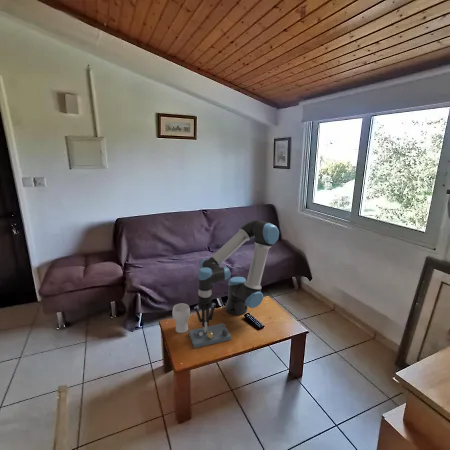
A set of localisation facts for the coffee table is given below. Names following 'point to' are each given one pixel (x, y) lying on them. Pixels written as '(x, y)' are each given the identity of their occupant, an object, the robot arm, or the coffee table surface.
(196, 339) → the plate
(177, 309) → the cup
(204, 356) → the coffee table surface
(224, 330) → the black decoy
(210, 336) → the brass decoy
